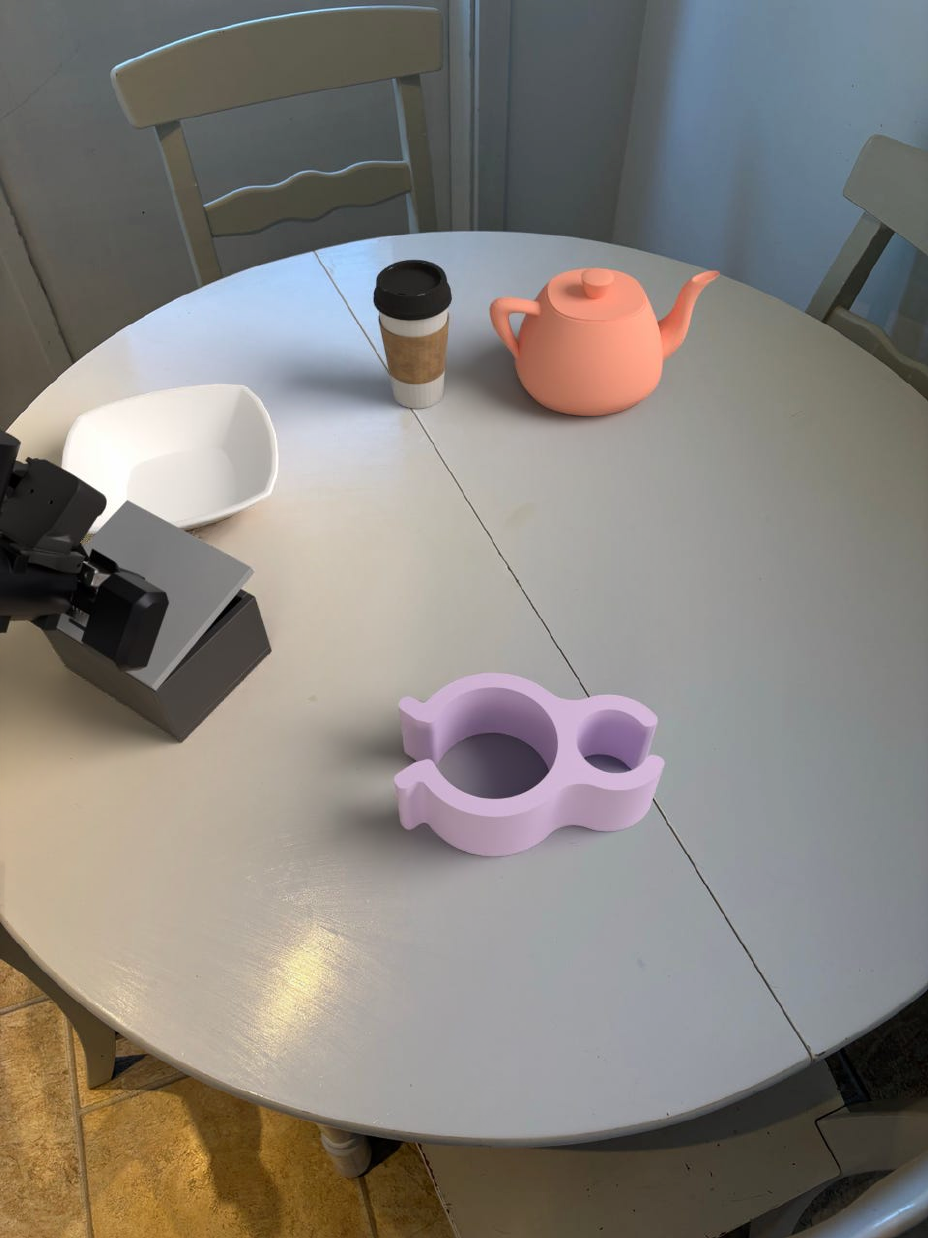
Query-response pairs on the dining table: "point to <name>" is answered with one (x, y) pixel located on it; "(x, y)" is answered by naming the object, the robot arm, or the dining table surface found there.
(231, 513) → the bowl
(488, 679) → the clip
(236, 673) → the grey hinged lid box
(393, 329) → the coffee cup
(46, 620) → the robot arm
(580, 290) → the teapot
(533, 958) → the dining table surface
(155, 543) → the box lid
